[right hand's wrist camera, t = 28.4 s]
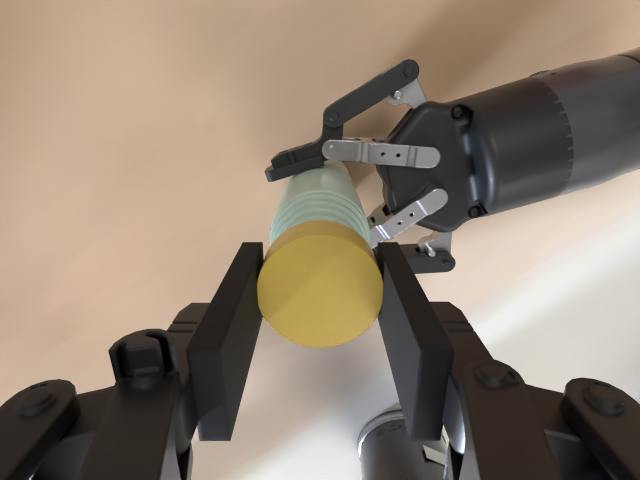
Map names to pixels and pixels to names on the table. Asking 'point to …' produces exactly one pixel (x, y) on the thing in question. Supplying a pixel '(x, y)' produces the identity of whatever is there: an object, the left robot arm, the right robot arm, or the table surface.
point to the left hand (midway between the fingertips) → (283, 214)
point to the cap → (320, 284)
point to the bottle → (320, 200)
